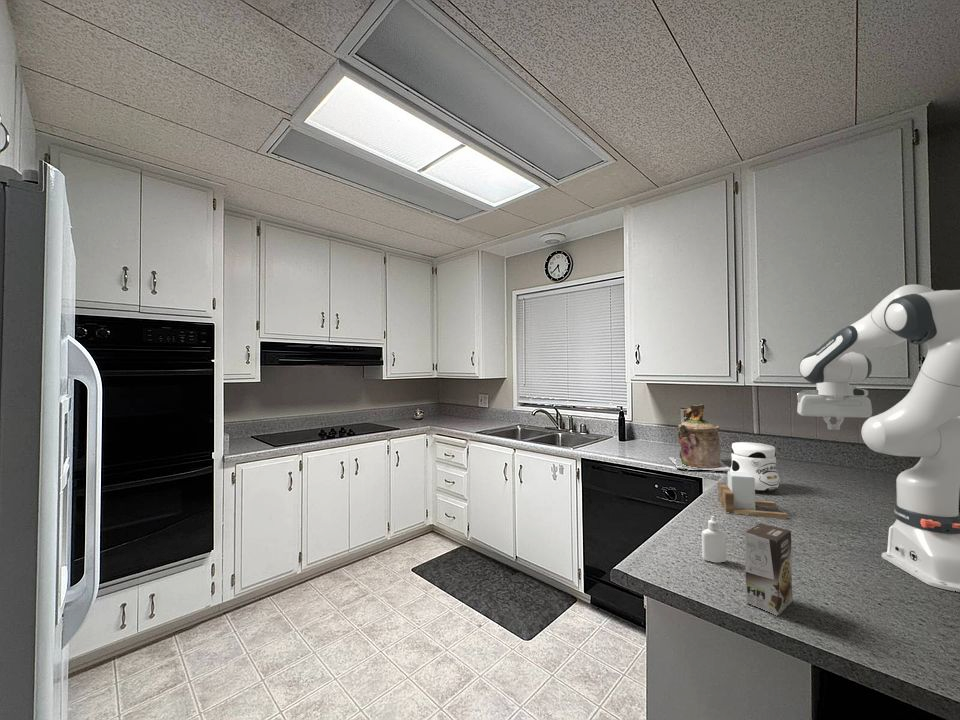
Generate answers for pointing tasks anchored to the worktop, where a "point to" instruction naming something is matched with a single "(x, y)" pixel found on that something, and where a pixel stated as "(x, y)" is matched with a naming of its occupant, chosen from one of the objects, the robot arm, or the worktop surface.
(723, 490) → the stop board
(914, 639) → the worktop surface
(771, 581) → the coffee box
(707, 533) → the eye dropper bottle
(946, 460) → the robot arm
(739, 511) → the guide rails
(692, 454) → the cookie jar
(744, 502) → the supplement box
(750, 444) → the milk container
